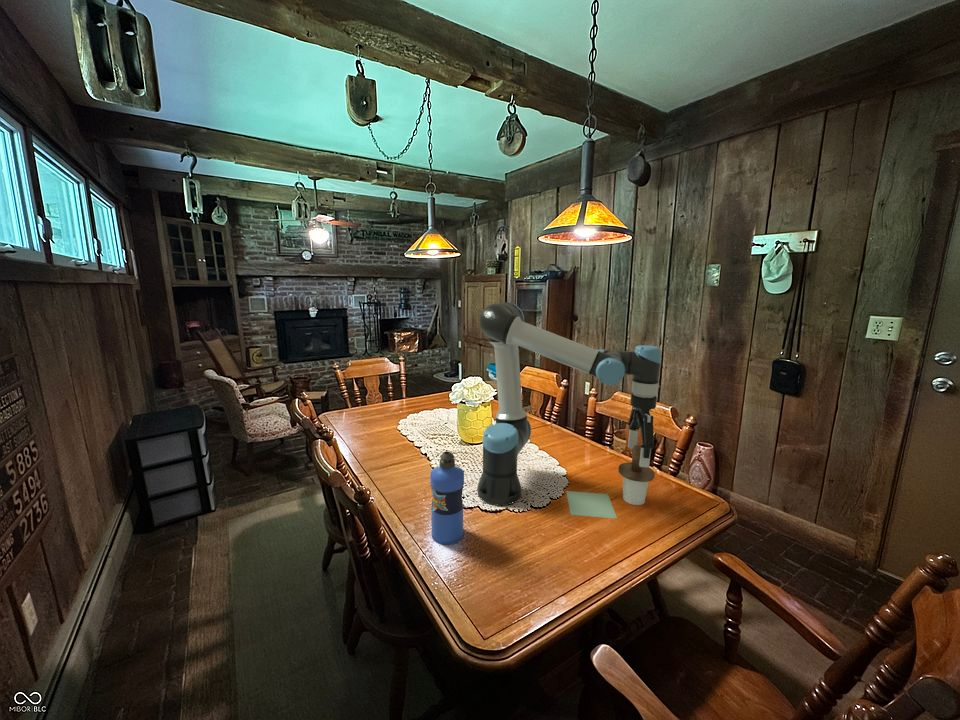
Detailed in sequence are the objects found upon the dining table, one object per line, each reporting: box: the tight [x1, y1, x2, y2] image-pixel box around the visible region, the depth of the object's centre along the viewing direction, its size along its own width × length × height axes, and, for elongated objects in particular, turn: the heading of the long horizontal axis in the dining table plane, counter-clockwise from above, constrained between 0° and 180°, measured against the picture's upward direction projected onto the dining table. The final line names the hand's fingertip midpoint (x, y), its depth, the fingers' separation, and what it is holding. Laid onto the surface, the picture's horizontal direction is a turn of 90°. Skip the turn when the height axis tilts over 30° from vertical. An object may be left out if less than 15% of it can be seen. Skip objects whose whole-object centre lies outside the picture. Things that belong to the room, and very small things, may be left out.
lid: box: [617, 444, 656, 483], centre depth 122 cm, size 11×11×9 cm
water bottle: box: [429, 450, 465, 546], centre depth 104 cm, size 9×9×25 cm
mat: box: [565, 490, 618, 520], centre depth 122 cm, size 14×14×1 cm
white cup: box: [622, 476, 649, 506], centre depth 124 cm, size 8×8×10 cm
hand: (637, 457), depth 122 cm, fingers open, 13 cm apart
